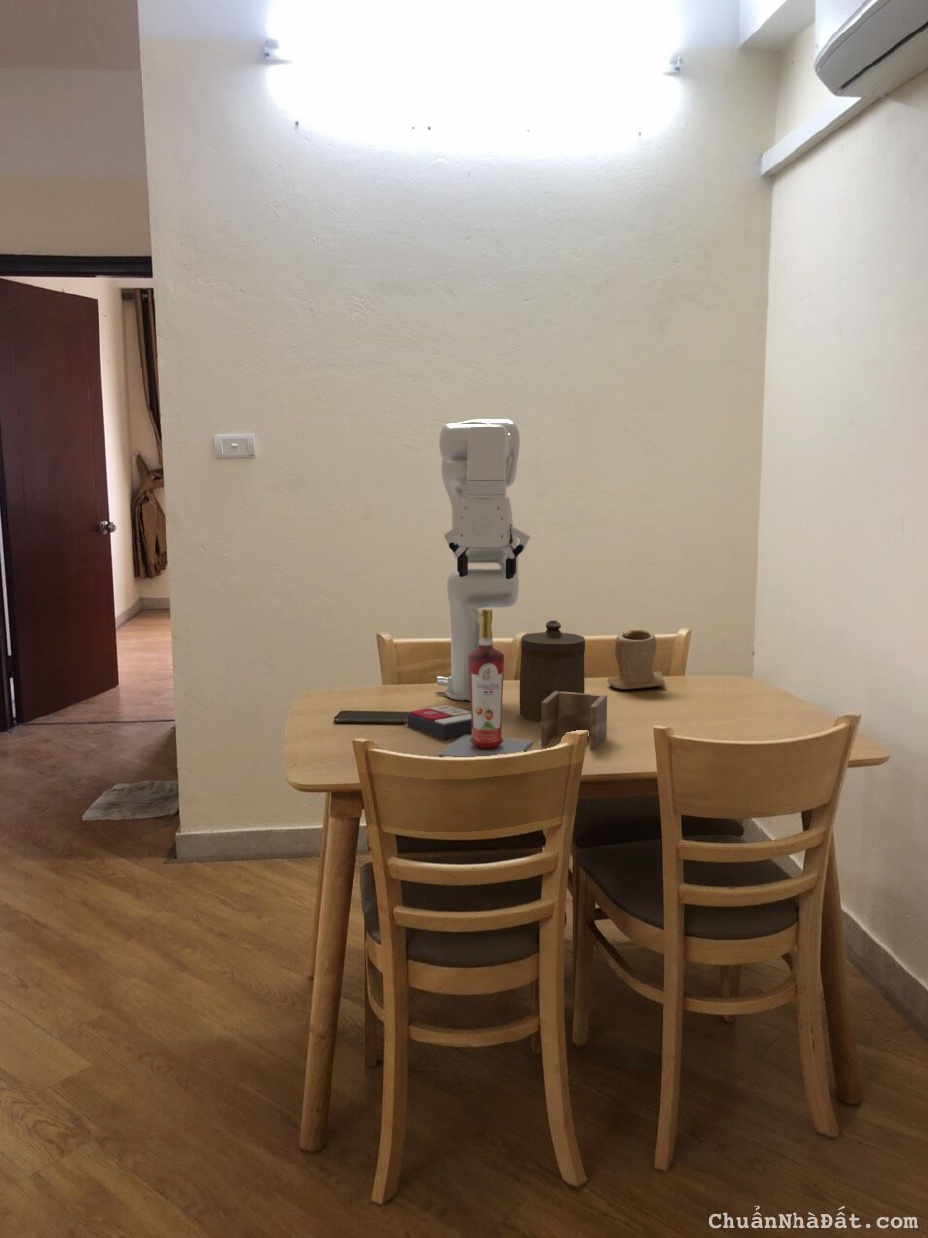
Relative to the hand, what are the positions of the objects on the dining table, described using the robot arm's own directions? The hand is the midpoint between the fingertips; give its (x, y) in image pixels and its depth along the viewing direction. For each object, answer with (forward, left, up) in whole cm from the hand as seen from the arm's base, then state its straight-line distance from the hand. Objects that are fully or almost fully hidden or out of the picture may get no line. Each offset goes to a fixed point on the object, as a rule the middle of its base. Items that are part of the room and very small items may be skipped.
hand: (486, 577), depth 190 cm
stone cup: (+19, +64, -36) cm, 75 cm away
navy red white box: (-13, +12, -36) cm, 40 cm away
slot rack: (+15, +12, -35) cm, 40 cm away
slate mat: (0, 0, -35) cm, 35 cm away
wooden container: (+5, +31, -36) cm, 47 cm away
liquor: (0, 0, -35) cm, 35 cm away
